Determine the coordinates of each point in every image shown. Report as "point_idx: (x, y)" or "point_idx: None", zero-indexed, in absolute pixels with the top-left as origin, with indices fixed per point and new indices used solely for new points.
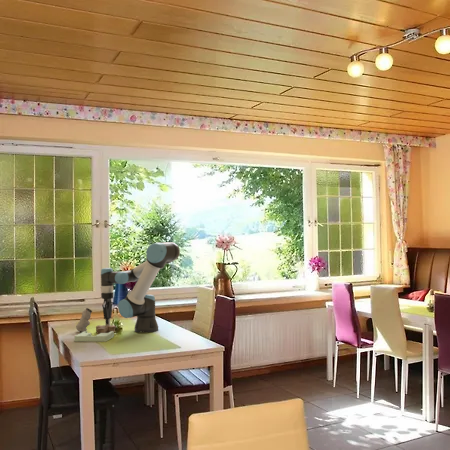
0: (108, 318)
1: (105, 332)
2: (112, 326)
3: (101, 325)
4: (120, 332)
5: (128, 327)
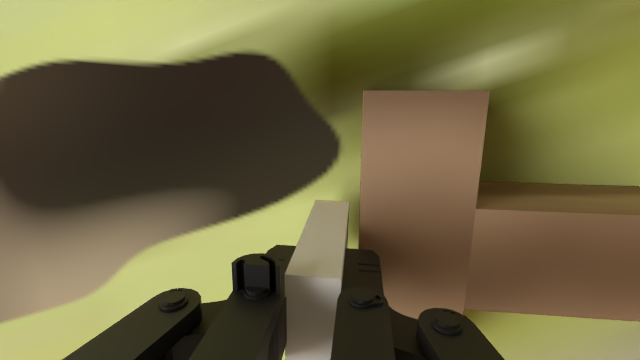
0: (385, 301)
1: (587, 192)
2: (477, 131)
3: None
4: (430, 4)
5: (56, 15)
